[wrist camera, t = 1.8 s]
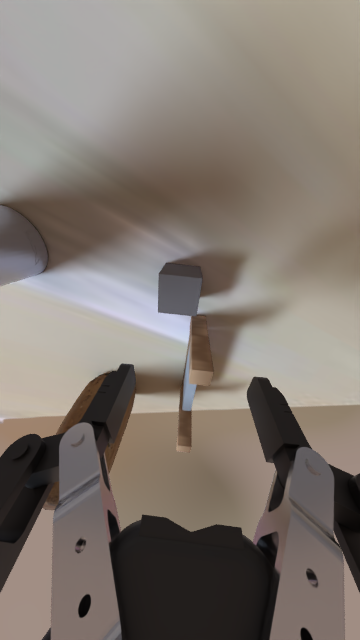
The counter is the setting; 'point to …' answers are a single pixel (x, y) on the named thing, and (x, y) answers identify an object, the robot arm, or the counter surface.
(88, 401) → the brown bread loaf
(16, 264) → the robot arm
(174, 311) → the gray rectangular block
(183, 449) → the frame
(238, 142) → the counter surface
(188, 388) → the door
